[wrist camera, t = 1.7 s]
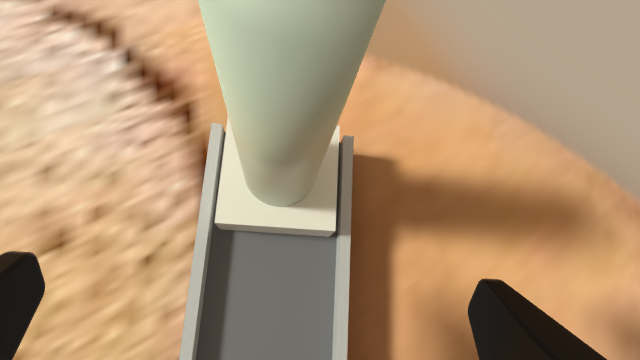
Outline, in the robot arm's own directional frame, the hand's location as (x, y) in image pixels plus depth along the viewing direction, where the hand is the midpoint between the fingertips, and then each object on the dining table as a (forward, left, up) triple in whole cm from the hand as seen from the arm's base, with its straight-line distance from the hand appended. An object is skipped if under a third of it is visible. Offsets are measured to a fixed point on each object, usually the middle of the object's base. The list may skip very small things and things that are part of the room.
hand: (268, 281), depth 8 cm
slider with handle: (+5, -2, -10) cm, 12 cm away
